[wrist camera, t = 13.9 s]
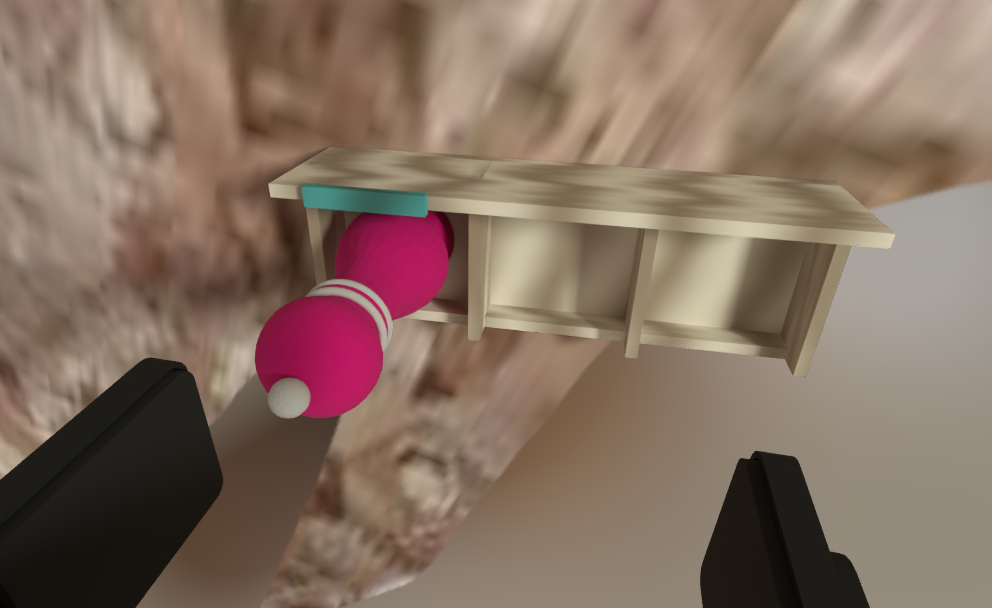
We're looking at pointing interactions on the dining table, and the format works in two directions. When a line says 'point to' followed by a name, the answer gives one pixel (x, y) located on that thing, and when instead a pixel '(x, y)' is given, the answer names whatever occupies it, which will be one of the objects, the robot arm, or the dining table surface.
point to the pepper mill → (352, 314)
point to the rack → (607, 246)
